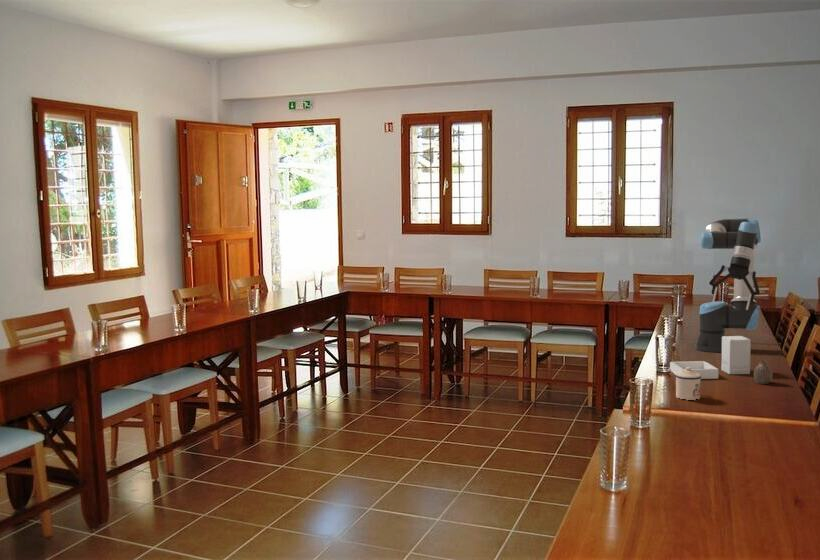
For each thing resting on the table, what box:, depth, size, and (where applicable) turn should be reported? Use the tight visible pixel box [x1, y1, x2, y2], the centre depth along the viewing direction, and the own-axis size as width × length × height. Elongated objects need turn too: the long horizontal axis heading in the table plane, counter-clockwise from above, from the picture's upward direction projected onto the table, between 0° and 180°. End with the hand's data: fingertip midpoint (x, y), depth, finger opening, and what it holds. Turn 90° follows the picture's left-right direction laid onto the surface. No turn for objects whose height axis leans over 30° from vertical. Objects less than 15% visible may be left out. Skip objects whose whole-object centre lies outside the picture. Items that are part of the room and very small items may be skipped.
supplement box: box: [720, 335, 752, 375], centre depth 317 cm, size 9×9×15 cm
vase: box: [753, 360, 773, 385], centre depth 298 cm, size 7×7×9 cm
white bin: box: [669, 360, 719, 380], centre depth 315 cm, size 15×15×4 cm
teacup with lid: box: [675, 367, 702, 401], centre depth 281 cm, size 12×9×12 cm
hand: (729, 305), depth 317 cm, fingers open, 13 cm apart
